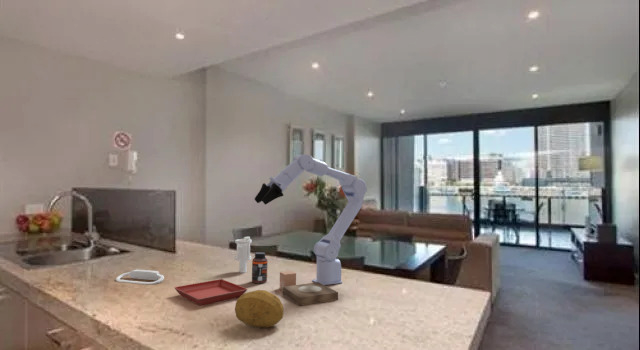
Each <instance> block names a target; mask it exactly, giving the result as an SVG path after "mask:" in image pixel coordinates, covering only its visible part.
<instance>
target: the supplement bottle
mask: <svg viewBox="0 0 640 350" xmlns="http://www.w3.org/2000/svg"><path fill="white" fill-rule="evenodd" d="M251 260H252V261H251V263H252V264H251V266H252V268H251V282H252V283H254V284H265V283H266V282H267V281H268V258H267V257H266V253H265V252H262V251H258V252H257V251H256V252H255V253H254V258H252V259H251Z"/></svg>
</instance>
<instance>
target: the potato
mask: <svg viewBox="0 0 640 350" xmlns="http://www.w3.org/2000/svg"><path fill="white" fill-rule="evenodd" d="M234 306H235V307H234V313H235V316H236V318H237V319H238V320H239V321H240V322H242V323H244V324H246V325H248V326H250V327H254V328H260V329H261V328H262V329H263V328H266V329H268V328H270V327H274V326H275V325H277V324H278V323H279V322H280V321H281V320H282V319H283V318H284V314H285V313H284V305H283V303H282V300H281V299H280V298H279V297H278V296H277V295H276V294H274V293H272V292H270V291H268V290H263V289H257V290H253V291H247V292H245V293H244V294H243V295H241V296H240V297H239V298H236V302H235V305H234Z"/></svg>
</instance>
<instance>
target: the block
mask: <svg viewBox="0 0 640 350" xmlns="http://www.w3.org/2000/svg"><path fill="white" fill-rule="evenodd" d="M292 285H297V273H296V272H294V271H292V270H287V271H280V272H279V289H280V290H282V291H283V287H285V286H292Z"/></svg>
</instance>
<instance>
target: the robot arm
mask: <svg viewBox="0 0 640 350" xmlns="http://www.w3.org/2000/svg"><path fill="white" fill-rule="evenodd" d="M304 171H306V172H307V173H310V174H313V175H316V176H318V177H324V176H328V177H330V178H333V179H335V180H337V181H338V182H339V185H340V186H341V190H342V191H343V193H344V195H345V197H346V200H347V204H346V206H345V207H344V208H343V210H342V212H341V214H340V215H339V216H338V218H337V220H336V221H335V223H334V224H333V226H332V227H331V229H329V231H328V233H327V234H326V235H323V236H322V238H321V239H320V240H319V241H317V242H316V243H315V244H314V246H313V252H314V254H315V256H316V278H315V279H312V280H311V281H312V282H313V283H316V282H319V283H321V284H323V285H325V286H328V285H336V284H342V283H343V281H342V264H341V260H340V259H339V258H337V257H338V256H339V251H340V249H341V247H342V245H341V242H340V241H341V240H342V238H343V236H344V235H345V233H346V232H347V230H348V229H349V227H350V225H351V224H352V222H353V221H354V219H355V218H356V216H357V215H358V213H359V212H360V210H361V209H362V206H363V204H364V198H365V194H366V192H368V188H367V183H366V181H365V180H364V179H363V178H359V177H358V176H356V175H353V174H351V173H348V172H344V171H341V170H339V169H335V168H332V167H329V165H328V164H327V163H326V162H324V159H317V158H314V157H313V156H312V155H311V154H306V153H305V154H298V155H296V156H294V157H293V159H292V161H291V162H290V164H287V166H286V167H284V168H283V169H282V170H281V171H280V172H279V173H278V174H277V175H276V176H274V177H273V176H270V177H269V180H270V181H269V183H267V184H266V183H265V182H264V183H262V185H261V188H260V189H259V192H257V194H256V195H255V197H254V201H255V202H256V204H259V203H261V202H262V204H264V205H267V204H269V203H270V202H273V201H274V200H276V199H278V198H281V197H284V196H285V195H284V193H283V192H284V191H285V190H286V189H287V188H288V187H289V186H290V185H291V184H292V183H293V182H294V181H295V180H296V179H297V178H298V177H300V176H301V174H302V173H304Z"/></svg>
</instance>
